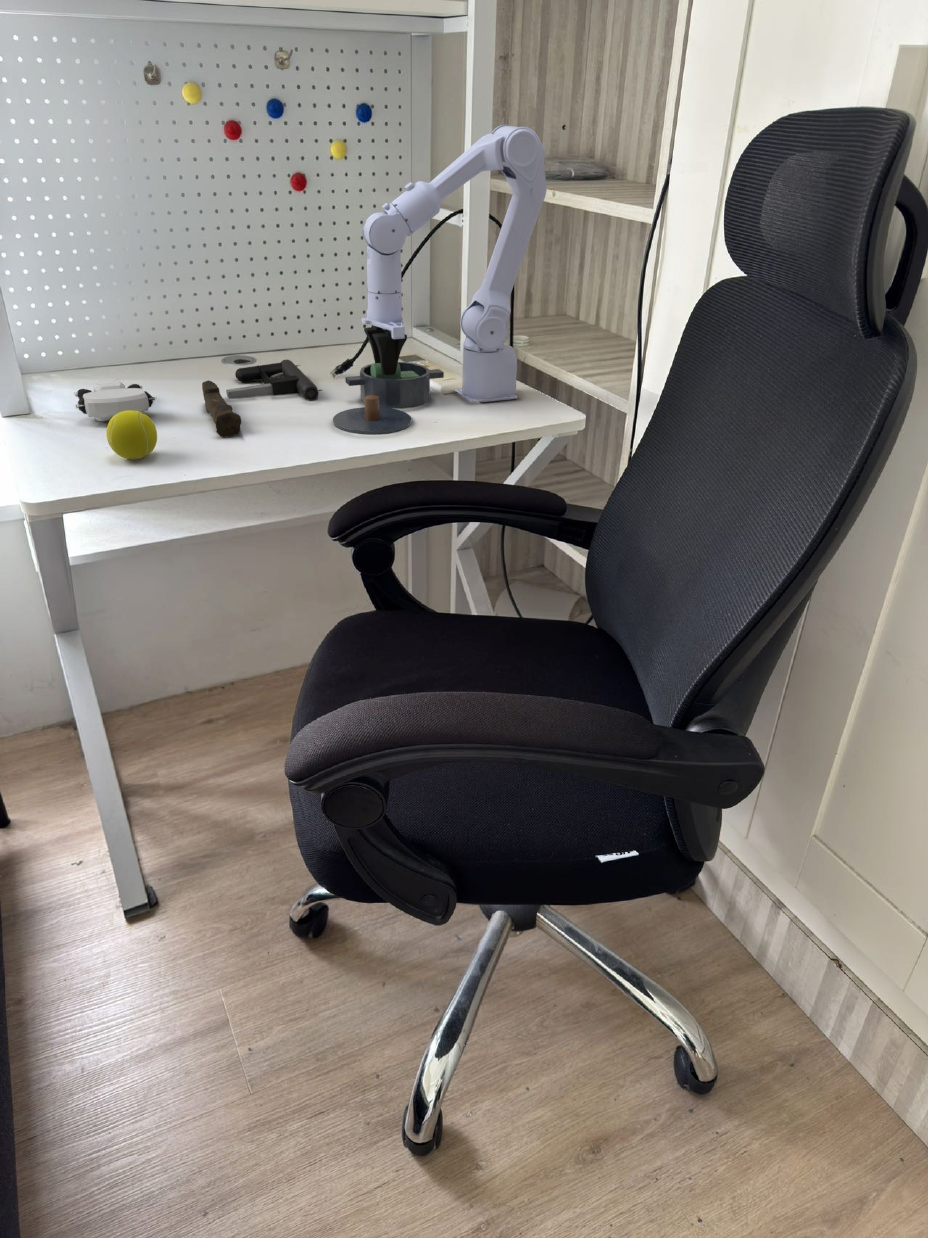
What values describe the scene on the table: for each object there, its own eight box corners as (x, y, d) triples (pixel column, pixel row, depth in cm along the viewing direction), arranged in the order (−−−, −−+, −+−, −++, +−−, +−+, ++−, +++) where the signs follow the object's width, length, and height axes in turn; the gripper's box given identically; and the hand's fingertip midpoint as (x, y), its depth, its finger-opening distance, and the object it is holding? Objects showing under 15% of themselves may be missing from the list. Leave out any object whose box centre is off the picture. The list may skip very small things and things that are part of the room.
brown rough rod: (243, 436, 145) (240, 407, 143) (217, 438, 144) (214, 409, 142) (224, 403, 161) (222, 376, 158) (201, 404, 159) (198, 378, 157)
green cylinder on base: (376, 383, 159) (376, 366, 157) (370, 378, 162) (369, 361, 160) (419, 380, 162) (419, 362, 160) (412, 374, 165) (412, 357, 163)
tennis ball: (163, 448, 139) (156, 403, 136) (157, 465, 134) (150, 418, 130) (115, 450, 138) (107, 404, 135) (107, 466, 132) (98, 419, 129)
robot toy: (73, 409, 158) (81, 429, 145) (68, 383, 156) (76, 400, 143) (147, 402, 162) (161, 420, 150) (143, 376, 160) (156, 392, 148)
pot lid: (324, 417, 155) (322, 389, 152) (396, 410, 159) (396, 383, 157) (345, 441, 144) (344, 412, 142) (422, 432, 149) (422, 404, 147)
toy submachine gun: (233, 396, 155) (324, 383, 160) (213, 367, 171) (297, 356, 176) (236, 415, 157) (326, 401, 162) (216, 385, 173) (299, 373, 178)
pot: (338, 396, 166) (337, 365, 163) (429, 387, 172) (429, 358, 169) (358, 415, 156) (357, 383, 153) (453, 406, 162) (454, 375, 159)
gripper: (349, 284, 158) (352, 363, 165) (375, 300, 147) (376, 384, 153) (388, 282, 160) (389, 360, 167) (416, 298, 149) (416, 381, 156)
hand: (385, 371), depth 160 cm, fingers closed on green cylinder on base, 3 cm apart
